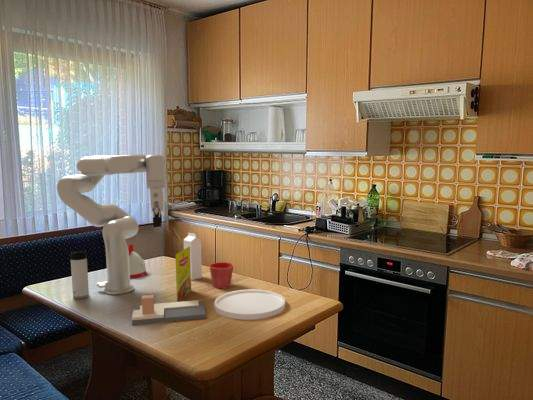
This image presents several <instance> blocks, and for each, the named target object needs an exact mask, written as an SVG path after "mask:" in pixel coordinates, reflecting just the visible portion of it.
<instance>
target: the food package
mask: <svg viewBox="0 0 533 400" xmlns="http://www.w3.org/2000/svg"><path fill="white" fill-rule="evenodd" d="M175 278H176V280H175V281H176V302H181V300H182V299H183V298H185V297H186V296H187V295H188V294H189V293H191V292H192V280H191V266H190V246H189V247H187V248H186V249H184V248H183V249H182V250H181V251H178V252H177V253H176V254H175Z"/></svg>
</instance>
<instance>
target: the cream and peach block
mask: <svg viewBox="0 0 533 400" xmlns="http://www.w3.org/2000/svg"><path fill="white" fill-rule="evenodd" d="M154 297H155V295H154V294H147V295H142V296H141V305H142V309H141V310H135V309H133V311H132V315H131V321H132V320H142V319H153V318H164V308H154V304H155V299H154Z"/></svg>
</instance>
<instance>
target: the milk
mask: <svg viewBox="0 0 533 400" xmlns="http://www.w3.org/2000/svg"><path fill="white" fill-rule="evenodd" d="M187 234H188V235H187V236H186V237H184V238H183V250H184V249H186V248H187V247H189V246H190V266H191V281H194V280H198V279H201V278H203V268H202V267H203V266H202V240H201V239H200V238H199V237H197V234H196V233H193V232H187Z"/></svg>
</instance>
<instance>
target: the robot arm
mask: <svg viewBox="0 0 533 400" xmlns="http://www.w3.org/2000/svg"><path fill="white" fill-rule="evenodd" d="M76 169H77V171H78V173H80V174H71V175H65V176H63V177H61V178H60V179H59V180H58V182H57V185H56V191H57V195H58V197H59V198H60V201H61V202H63V204H65V206H67V207H68V208H70V209H71V210H72V211H74V212H76V213H77V214H78V215H79V216H80V217H81V218H83V219H85V221H87V222H88V223H89V224H91V225H92V226H93V227H96V228H100V227H102V238H103V242H104V248H105V259H106V275H107V276H106V277H107V280H105V281H102V282H101V281H100V282H98V281H97V283H96V287H97V288H99V289H102V288H104V291H103V292H104V293H105V294H106V295H122V294H127V293H130V292H133V291H134V289H135V285H134V284H133V283H131V278H130V266H129V250H128V248H129V245H128V244H127V241H126V239H127V240H128V239H130V238H132V237H135V236H136V235H137V234H138V232H139V224H138V221H137V220H136V219H135V218H134V217H133V216H132V215H130V214H129V213H128V212H126V211H125V210H124V209H123V208H121V207H120V206H118V205H117V204H113V203H105V204H99V203H98V202H96V201H95V200H94V199H92V198H91V197H90V196H87V195H85V194H83V193H89V192H92V191H93V190H95V188H96V187H97V185H99V184H100V182H101V180H102V179H103V178H104V177H105V176H113V175H117V174H118V175H119V174H120V175H121V174H138V173H146V174H145V175H146V177H145V178H146V189H149V195H150V196H149V198H150V200H149V201H150V208H151V212H152V215H153V216H152V226H153V228H160V227H161V228H162V222H163V219H162V213H163V212H164V211H165V200H164V199H165V198H164V189H166V171H165V170H166V167H165V156H164V155H162V154H137V153H136V154H121V155H111V154H108V155H107V154H106V155H91V156H88V155H87V156H84V157H82V158H80V159H79V160H78V161H77V163H76Z"/></svg>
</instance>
